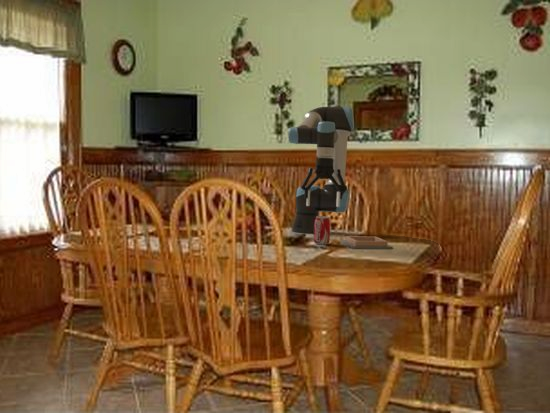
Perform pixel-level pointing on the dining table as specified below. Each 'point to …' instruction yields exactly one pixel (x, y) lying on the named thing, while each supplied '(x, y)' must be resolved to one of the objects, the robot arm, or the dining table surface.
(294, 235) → the dining table surface
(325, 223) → the soda can
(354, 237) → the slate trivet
